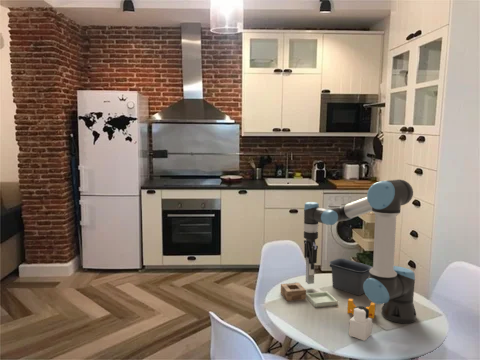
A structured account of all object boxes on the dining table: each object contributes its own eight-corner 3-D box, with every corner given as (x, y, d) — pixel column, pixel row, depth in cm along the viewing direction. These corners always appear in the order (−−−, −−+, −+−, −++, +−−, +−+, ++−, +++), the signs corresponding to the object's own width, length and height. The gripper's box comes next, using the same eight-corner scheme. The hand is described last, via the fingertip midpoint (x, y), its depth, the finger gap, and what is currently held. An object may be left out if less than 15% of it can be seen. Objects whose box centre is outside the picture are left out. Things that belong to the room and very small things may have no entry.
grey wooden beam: (314, 283, 213) (314, 258, 212) (308, 283, 212) (308, 258, 211) (311, 281, 216) (312, 256, 215) (305, 281, 216) (306, 256, 214)
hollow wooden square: (305, 299, 202) (305, 290, 201) (287, 301, 199) (287, 291, 199) (298, 291, 211) (298, 282, 211) (280, 293, 209) (280, 284, 208)
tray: (337, 305, 195) (337, 301, 195) (315, 307, 193) (315, 303, 192) (326, 295, 207) (327, 291, 207) (305, 297, 204) (305, 293, 204)
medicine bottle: (355, 329, 172) (356, 302, 171) (371, 334, 168) (373, 307, 166) (348, 335, 167) (349, 308, 165) (364, 341, 162) (366, 313, 161)
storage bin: (325, 287, 218) (326, 262, 216) (340, 280, 229) (342, 256, 227) (360, 299, 203) (361, 272, 201) (375, 291, 213) (376, 265, 212)
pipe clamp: (374, 314, 186) (375, 301, 186) (373, 318, 182) (374, 305, 182) (348, 309, 191) (349, 297, 190) (347, 313, 187) (348, 300, 186)
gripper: (324, 234, 204) (322, 278, 207) (311, 227, 220) (310, 268, 223) (310, 235, 202) (309, 279, 205) (298, 227, 218) (297, 269, 221)
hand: (310, 273), depth 214 cm, fingers closed on grey wooden beam, 3 cm apart
